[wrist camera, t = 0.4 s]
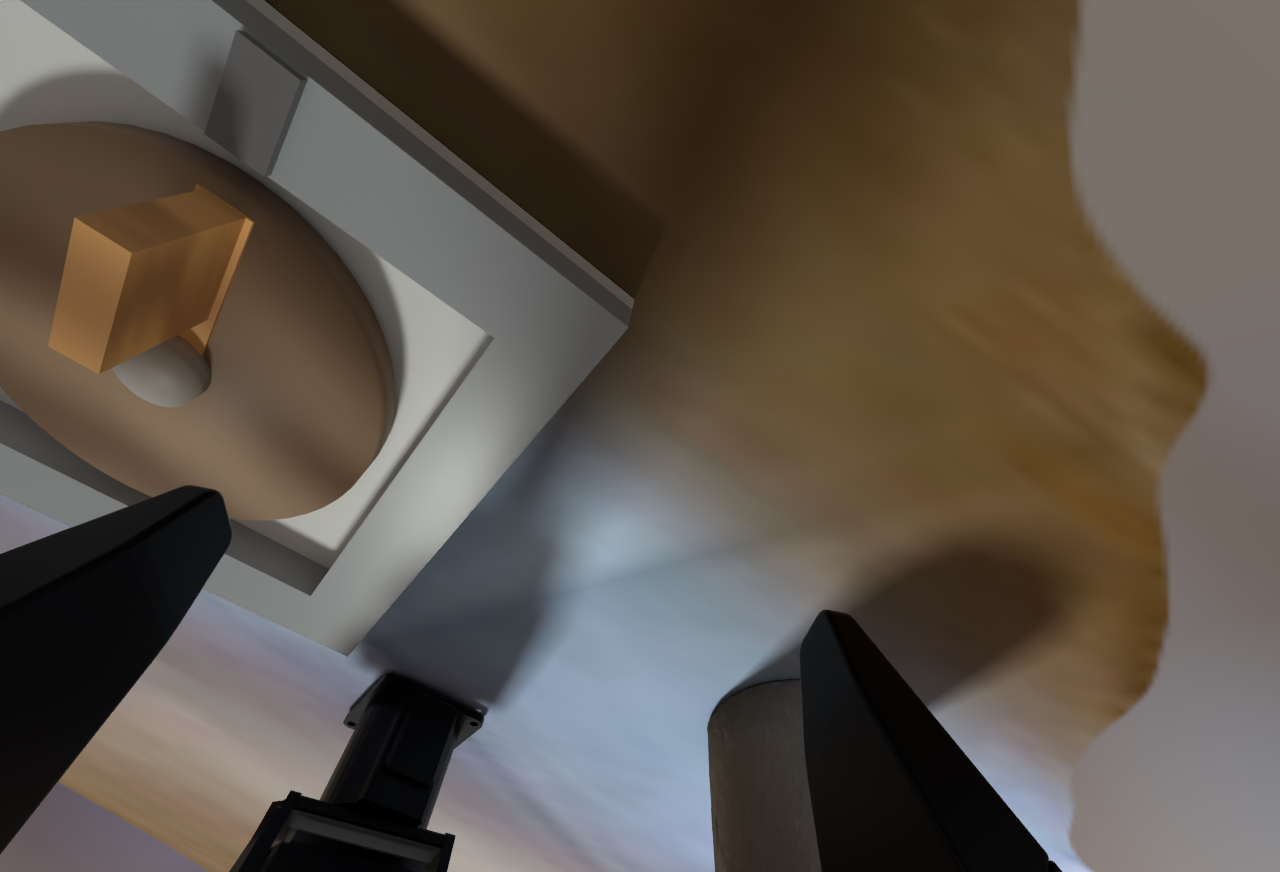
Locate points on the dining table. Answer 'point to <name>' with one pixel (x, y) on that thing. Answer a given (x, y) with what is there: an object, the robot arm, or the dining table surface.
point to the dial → (183, 322)
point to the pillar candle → (761, 783)
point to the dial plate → (374, 254)
